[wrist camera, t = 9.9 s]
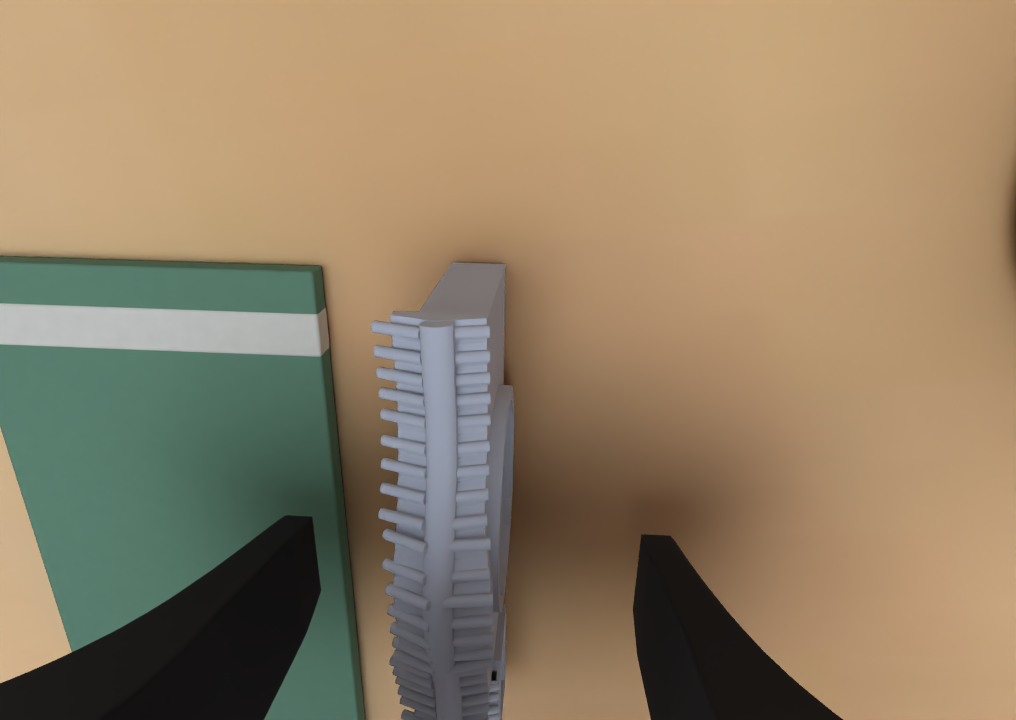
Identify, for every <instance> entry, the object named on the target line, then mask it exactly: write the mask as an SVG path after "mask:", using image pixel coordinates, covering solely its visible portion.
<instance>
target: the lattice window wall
mask: <svg viewBox="0 0 1016 720" xmlns="http://www.w3.org/2000/svg"><path fill="white" fill-rule="evenodd" d="M504 325H505V264H488V263H454V262H452V263H451V265H450V266H449V268H448V269H447V271H446V272H445V274H444V275H443V277H442V278H441V280H440V281H439V283H438V284H437V286H436V287H435V289H434V290H433V292H432V293H431V295H430V296H429V298H428V299H427V301H426V302H425V304H424V305H423V307H422V308H421V310H420V311H419V312H408V311H393V312H392V314H391V315H390V323H389V322H382V321H373V322H372V325H371V330H372V332H374V333H380V334H386V335H392V339H393V340H392V347H387V346H381V345H376V346H375V348H374V356H375V357H380V358H386V359H392V360H395V367H394V369H390V368H384V367H379V368H378V369H377V372H376V376H377V378H380V379H385V380H391V381H396V383H397V387H396V389H390V388H385V387H381V388H380V390H379V394H378V395H379V398H382V399H387V400H392V401H397V404H398V411H395V410H390V409H386V408H384V409H382V411H381V414H380V417H381V419H383V420H387V421H392V422H397V425H398V437H395V436H390V435H386V434H384V435H383V436H382V437H381V445H383V446H387V447H391V448H396V449H398V451H399V454H398V461H397V460H393V459H388V458H383V459H382V461H381V468H382V469H385V470H390V471H394V472H398V474H399V477H398V484H397V485H394V484H390V483H386V482H383V483H382V485H381V487H380V492H381V493H383V494H386V495H390V496H394V497H398V502H397V510H396V511H393V510H389V509H386V508H381V509H380V511H379V514H378V517H379V519H382V520H386V521H389V522H393V523H396V524H397V526H396V531H394V530H391V529H388V528H387V529H386V530H385V531H384V533H383V539H384V540H387V541H390V542H392V543H395V556H394V560H391V559H389V558H386V559H385V560H384V562H383V564H382V568H383V569H385V570H387V571H390V572H392V573H394V582H393V584H392V583H389V584H388V585H387V586H386V589H385V594H387V595H389V596H392V597H394V604H391V605H390V606H389V608H388V610H387V614H388V615H390V616H393V617H395V618H396V621H397V623H396V622H394V623H392V625H391V627H390V633H392V634H394V635H396V637H395V638H394V640H393V643H392V646H393V647H394V648H397V649H396V650H395V651H394V653H393V655H392V657H391V659H390V665H392V666H395V667H394V669H393V675H395V676H397V677H396V680H395V683H396V684H399V685H400V687H399V689H398V694H399V695H402V697H401V699H400V704H402V705H405V706H407V707H410V708H412V709H415V712H411V711H408V710H406V709H404V710H403V712H402V715H401V719H403V720H502V710H503V699H504V687H505V649H506V606H503V603H504V595H505V587H506V578H507V567H508V555H509V541H510V527H511V509H512V489H513V463H514V392H513V387H512V386H511V385H504Z"/></svg>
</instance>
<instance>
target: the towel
mask: <svg viewBox="0 0 1016 720" xmlns="http://www.w3.org/2000/svg"><path fill="white" fill-rule="evenodd" d="M329 346H330V345H329V335H328V325H327V314H326V308H325V300H324V290H323V279H322V269H321V267H320V266H305V265H272V264H239V263H206V262H173V261H140V260H107V259H74V258H41V257H8V256H0V427H1V430H2V433H3V437H4V440H5V443H6V446H7V449H8V452H9V455H10V459H11V462H12V465H13V468H14V471H15V474H16V477H17V481H18V484H19V487H20V490H21V493H22V496H23V499H24V503H25V506H26V509H27V512H28V515H29V518H30V522H31V525H32V528H33V531H34V534H35V537H36V540H37V544H38V547H39V550H40V553H41V556H42V559H43V562H44V566H45V569H46V572H47V575H48V578H49V581H50V584H51V588H52V591H53V594H54V597H55V600H56V603H57V606H58V610H59V613H60V616H61V619H62V622H63V625H64V628H65V632H66V635H67V638H68V641H69V644H70V647H71V650H72V652H74V651H76V650H78V649H80V648H82V647H84V646H86V645H88V644H90V643H92V642H94V641H96V640H98V639H100V638H102V637H104V636H106V635H108V634H110V633H112V632H113V631H115V630H117V629H119V628H121V627H123V626H124V625H126V624H128V623H130V622H131V621H133V620H135V619H137V618H138V617H140V616H142V615H144V614H145V613H147V612H149V611H150V610H152V609H154V608H155V607H157V606H159V605H160V604H162V603H163V602H165V601H167V600H168V599H170V598H171V597H173V596H174V595H176V594H177V593H179V592H180V591H182V590H183V589H185V588H186V587H187V586H189V585H190V584H192V583H193V582H195V581H196V580H198V579H199V578H201V577H202V576H204V575H205V574H207V573H208V572H210V571H211V570H212V569H214V568H215V567H216V566H218V565H219V564H221V563H222V562H223V561H225V560H226V559H227V558H229V557H230V556H231V555H233V554H234V553H235V552H237V551H238V550H239V549H241V548H242V547H243V546H245V545H246V544H247V543H249V542H250V541H251V540H253V539H254V538H255V537H257V536H258V535H259V534H260V533H262V532H263V531H264V530H266V529H267V528H268V527H270V526H271V525H272V524H274V523H275V522H276V521H278V520H279V519H281V518H282V517H284V516H285V515H293V516H311V517H312V518H313V526H314V534H315V543H316V551H317V559H318V568H319V576H320V585H321V593H320V596H319V599H318V602H317V605H316V608H315V611H314V614H313V617H312V619H311V622H310V625H309V628H308V631H307V633H306V636H305V638H304V640H303V642H302V644H301V646H300V648H299V650H298V652H297V654H296V656H295V658H294V660H293V662H292V665H291V667H290V669H289V671H288V673H287V675H286V677H285V679H284V681H283V683H282V685H281V687H280V689H279V691H278V693H277V695H276V697H275V699H274V701H273V703H272V705H271V707H270V709H269V711H268V713H267V715H266V717H265V719H264V720H365V714H364V704H363V693H362V683H361V673H360V662H359V652H358V641H357V631H356V621H355V610H354V600H353V590H352V579H351V569H350V559H349V548H348V538H347V528H346V517H345V507H344V497H343V486H342V476H341V466H340V455H339V445H338V435H337V424H336V414H335V403H334V393H333V383H332V372H331V362H330V352H329Z"/></svg>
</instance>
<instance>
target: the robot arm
mask: <svg viewBox="0 0 1016 720" xmlns="http://www.w3.org/2000/svg"><path fill="white" fill-rule="evenodd" d="M320 593H321V585H320V576H319V568H318V559H317V551H316V543H315V534H314V526H313V518H312V517H311V516H293V515H285V516H284V517H282V518H281V519H279V520H278V521H276V522H275V523H274V524H272V525H271V526H270V527H268V528H267V529H266V530H264V531H263V532H262V533H260V534H259V535H258V536H257V537H255V538H254V539H253V540H251V541H250V542H249V543H247V544H246V545H245V546H243V547H242V548H241V549H239V550H238V551H237V552H235V553H234V554H233V555H231V556H230V557H229V558H227V559H226V560H225V561H223V562H222V563H221V564H219V565H218V566H216V567H215V568H214V569H212V570H211V571H210V572H208V573H207V574H205V575H204V576H202V577H201V578H199V579H198V580H196V581H195V582H193V583H192V584H190V585H189V586H187V587H186V588H185V589H183V590H182V591H180V592H179V593H177V594H176V595H174V596H173V597H171V598H170V599H168V600H167V601H165V602H163V603H162V604H160V605H159V606H157V607H155V608H154V609H152V610H150V611H149V612H147V613H145V614H144V615H142V616H140V617H138V618H137V619H135V620H133V621H131V622H130V623H128V624H126V625H124V626H123V627H121V628H119V629H117V630H115V631H113V632H112V633H110V634H108V635H106V636H104V637H102V638H100V639H98V640H96V641H94V642H92V643H90V644H88V645H86V646H84V647H82V648H80V649H78V650H76V651H74V652H72V653H70V654H68V655H66V656H63V657H61V658H59V659H57V660H55V661H52V662H50V663H48V664H46V665H43V666H41V667H39V668H37V669H34V670H32V671H30V672H27V673H25V674H22V675H20V676H18V677H15V678H13V679H10V680H8V681H5V682H3V683H0V720H264V719H265V717H266V715H267V713H268V711H269V709H270V707H271V705H272V703H273V701H274V699H275V697H276V695H277V693H278V691H279V689H280V687H281V685H282V683H283V681H284V679H285V677H286V675H287V673H288V671H289V669H290V667H291V665H292V662H293V660H294V658H295V656H296V654H297V652H298V650H299V648H300V646H301V644H302V642H303V640H304V638H305V636H306V633H307V631H308V628H309V625H310V622H311V619H312V617H313V614H314V611H315V608H316V605H317V602H318V599H319V596H320ZM633 615H634V626H635V637H636V647H637V656H638V661H639V665H640V670H641V675H642V680H643V684H644V689H645V694H646V698H647V703H648V708H649V712H650V717H651V720H843V719H841V718H840V717H839V716H837V715H836V714H835V713H834V712H832V711H831V710H830V709H828V708H827V707H826V706H825V705H824V704H822V703H821V702H820V701H819V700H817V699H816V698H815V697H814V696H813V695H811V694H810V693H809V692H808V691H806V690H805V689H804V688H803V687H802V686H801V685H799V684H798V683H797V682H796V681H795V680H794V679H793V678H791V677H790V676H789V675H788V674H787V673H786V672H785V671H784V670H783V669H782V668H781V667H780V666H779V665H778V664H776V663H775V662H774V661H773V660H772V659H771V658H770V657H769V656H768V655H767V654H766V653H765V652H764V651H763V650H762V649H761V648H760V647H759V646H758V645H757V644H756V643H755V642H754V641H753V640H752V638H751V637H750V636H749V635H748V634H747V633H746V632H745V631H744V630H743V628H742V627H741V626H740V625H739V624H738V623H737V622H736V621H735V619H734V618H733V617H732V616H731V615H730V614H729V612H728V611H727V610H726V609H725V608H724V606H723V605H722V604H721V603H720V601H719V600H718V599H717V598H716V596H715V595H714V594H713V593H712V591H711V590H710V589H709V588H708V586H707V585H706V584H705V582H704V581H703V580H702V579H701V577H700V576H699V574H698V573H697V572H696V570H695V569H694V568H693V566H692V565H691V564H690V562H689V561H688V559H687V558H686V556H685V555H684V554H683V552H682V551H681V549H680V548H679V546H678V545H677V543H676V542H675V541H674V539H673V538H672V537H671V536H665V535H646V534H641V542H640V551H639V560H638V569H637V578H636V587H635V596H634V605H633Z"/></svg>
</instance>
